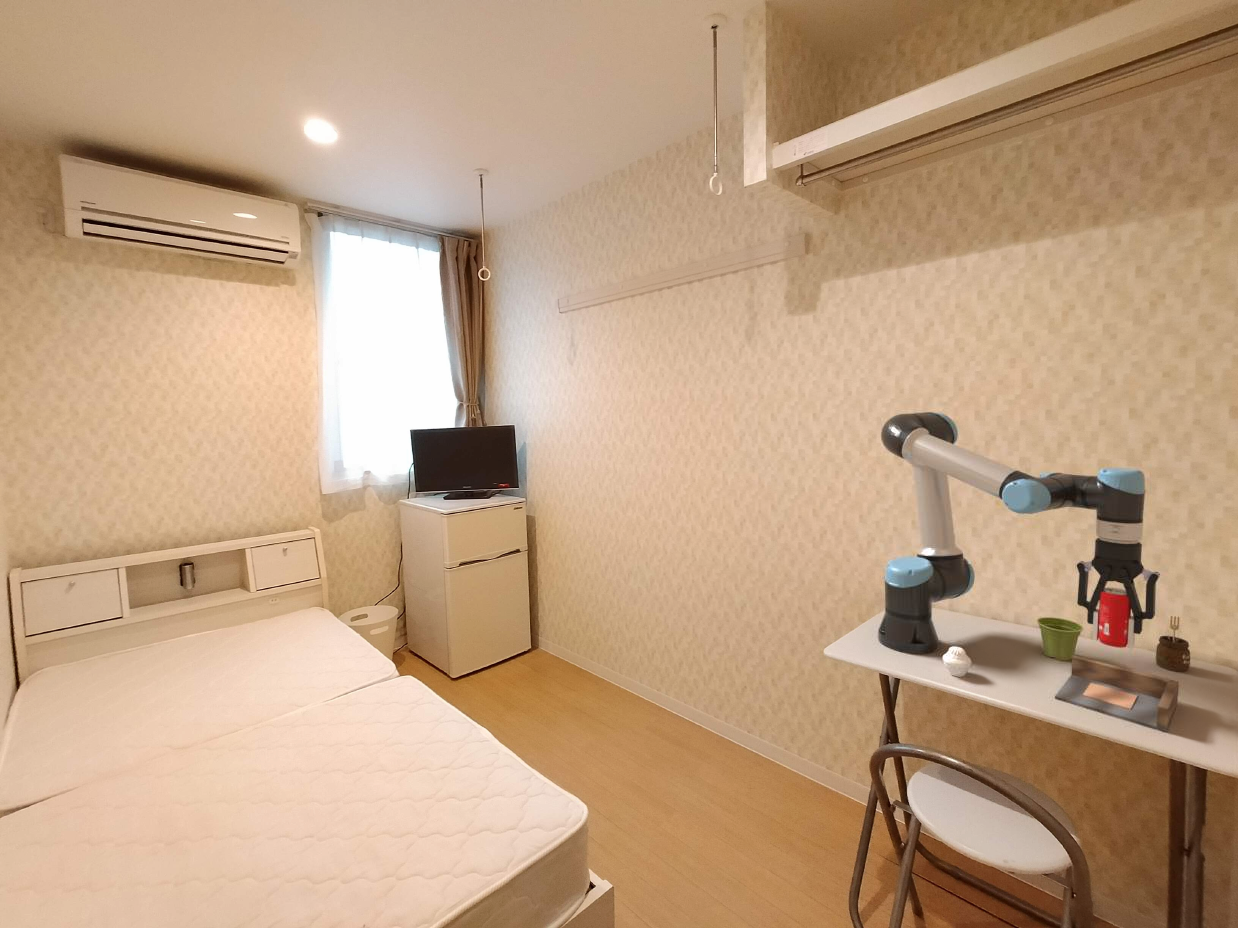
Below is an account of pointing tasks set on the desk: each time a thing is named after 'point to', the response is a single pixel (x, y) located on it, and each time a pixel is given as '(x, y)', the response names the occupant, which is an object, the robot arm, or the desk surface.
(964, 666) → the muffin
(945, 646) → the desk surface
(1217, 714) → the desk surface
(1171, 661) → the utensil holder
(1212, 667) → the desk surface
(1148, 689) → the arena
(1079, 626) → the plant pot
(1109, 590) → the beverage can
